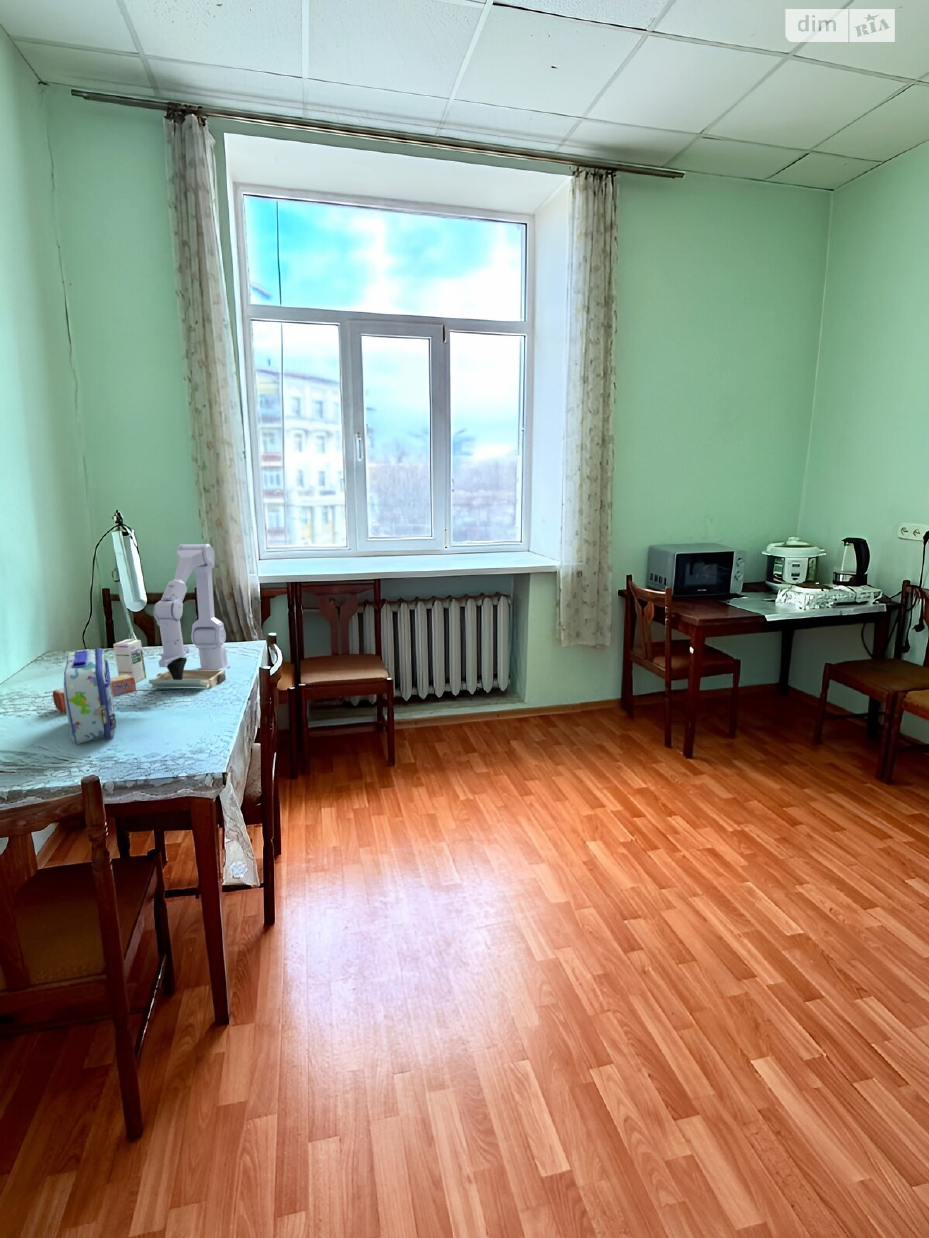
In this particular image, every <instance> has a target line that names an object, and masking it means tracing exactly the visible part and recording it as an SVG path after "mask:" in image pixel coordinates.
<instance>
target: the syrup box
mask: <svg viewBox="0 0 929 1238" xmlns="http://www.w3.org/2000/svg"><path fill="white" fill-rule="evenodd" d="M113 650H114V656H115V662H116V669H117V674H118V676H121V675H130V676H132V677H133V678H134V680H135V684H136V683H138V682H141V681H143V680H146V679H147V674H146V673H147V672H146V667H145V660H144V653H143V648H142V641H141V639H138V638H137V639H136V638H135V639H134V638H131V639H127V638H126V639H124V640H122V641H121V640H120V641H118V642H116V643H113Z"/></svg>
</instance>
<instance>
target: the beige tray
mask: <svg viewBox="0 0 929 1238" xmlns="http://www.w3.org/2000/svg"><path fill="white" fill-rule="evenodd" d="M151 680H173V677H172V675H171V673H170V671H169V670H168V669H166V671H164V672H163V673H161V672H160V673H157V675H156V676H155V677H154V678H152V679H151ZM182 680H201V681H203V682H204V683H206V684H207V687H156V686H154V685H152V684H151V687H152V688H154V689H155V688H158V689H159V688H166V689H167V688H170V689H171V688H172V689H173V688H179V689H182V688H183V689H186V688H187V689H189V688H191V689H193V688H195V689H198V688H200V689H212V688H214V687H215V686H216V685H219V684H222V683H223V682H225V681H226V680H227V678H226V670H225V669H217V670H201V669H184V670H183V678H182Z"/></svg>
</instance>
